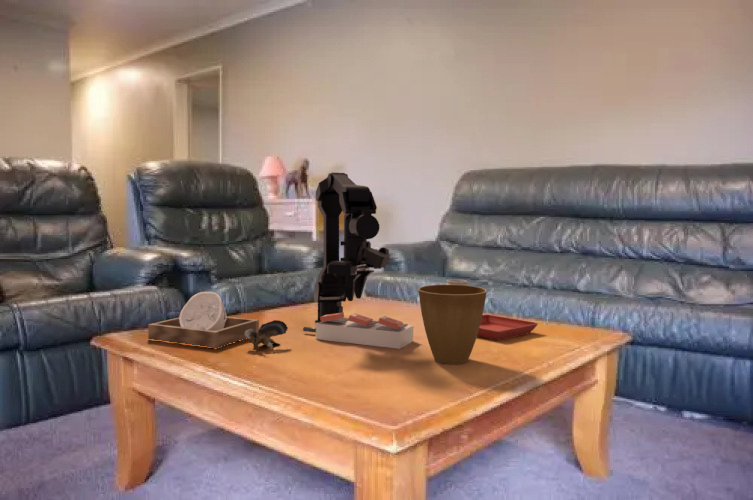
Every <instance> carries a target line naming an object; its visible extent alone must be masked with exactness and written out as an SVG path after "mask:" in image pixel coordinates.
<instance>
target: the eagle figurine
mask: <svg viewBox="0 0 753 500" xmlns="http://www.w3.org/2000/svg"><path fill="white" fill-rule="evenodd" d="M288 329H289V327H288V326H287V324H286V323H285V322H284V321H282V320H278V319H277V320H276V319H275V320H271V321H268V322H266V323H262V324H261V325H260V326H259V330H258V333H257V332H255V331H254V330H253V329H248V330H246V331H245V336H246V337H247V338H248V339H247V340H250V341H248V343H251V344H253V348H252V351H253V350H255V351H256V350H257V349H258V347H259V346H260V344H261V345H262V344H263V345H264V346H267V347H268V348H270V349H271V350H272V349H273V350H274V348H273V347H274V346H273V344H272V343H274V345H281V343H278V342H276V341H275V340H274V339H273V338H271V337H277V336H282V335H284V334H286V333H287V331H288ZM251 340H252V341H251Z"/></svg>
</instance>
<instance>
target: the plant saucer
mask: <svg viewBox="0 0 753 500" xmlns="http://www.w3.org/2000/svg"><path fill="white" fill-rule="evenodd" d="M538 325H539V323H538V322H535V321H528V320H522V319H517V318H511V317H506V316H505V317H504V316H498V315H494V314H493V315H492V314H483V315H482V319H481V323H480V327H479V331H478V334H477V337H479V338H484V339H488V340H492V341H501V339H502V340H506V339H510V337H511V338H515V337H514V336H516V337H519V336H518V335H520V336H524V335H523V334H525V335H528V334H527V333H529V334H530V333H531V332H532V331H534V329H536V327H537V326H538ZM505 338H506V339H505Z"/></svg>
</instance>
